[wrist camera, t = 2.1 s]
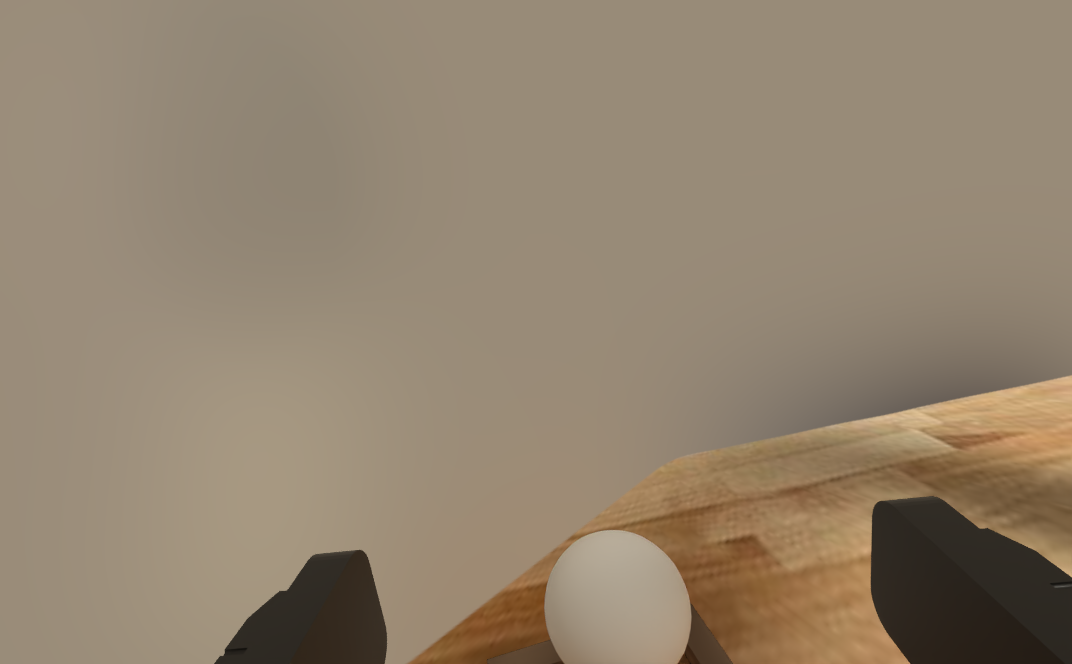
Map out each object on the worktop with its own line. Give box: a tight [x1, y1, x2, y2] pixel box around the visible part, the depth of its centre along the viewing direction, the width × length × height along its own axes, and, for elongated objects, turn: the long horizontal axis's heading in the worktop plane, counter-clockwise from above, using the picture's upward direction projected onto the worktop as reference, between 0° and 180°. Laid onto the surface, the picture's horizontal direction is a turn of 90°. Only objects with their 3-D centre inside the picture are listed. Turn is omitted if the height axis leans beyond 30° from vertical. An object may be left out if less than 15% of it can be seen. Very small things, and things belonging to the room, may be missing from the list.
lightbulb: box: [544, 530, 691, 664], centre depth 23 cm, size 6×6×11 cm
